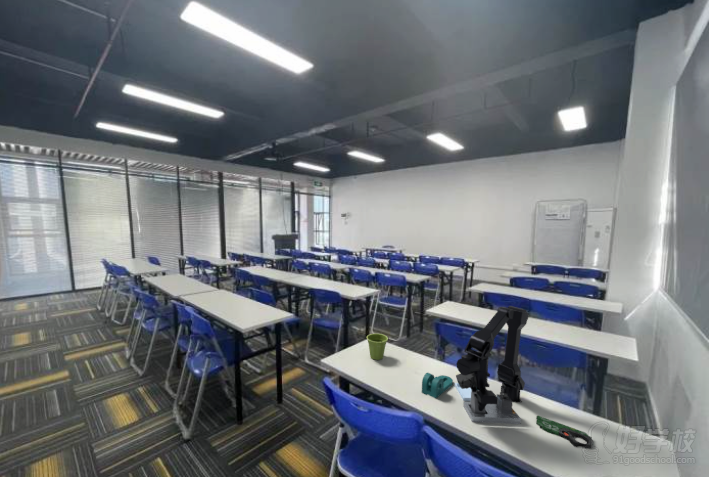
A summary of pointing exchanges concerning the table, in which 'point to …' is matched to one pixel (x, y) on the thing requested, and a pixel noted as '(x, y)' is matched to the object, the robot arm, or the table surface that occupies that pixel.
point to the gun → (564, 432)
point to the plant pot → (377, 345)
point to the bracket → (435, 384)
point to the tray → (464, 392)
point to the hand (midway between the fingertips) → (478, 407)
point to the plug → (475, 404)
